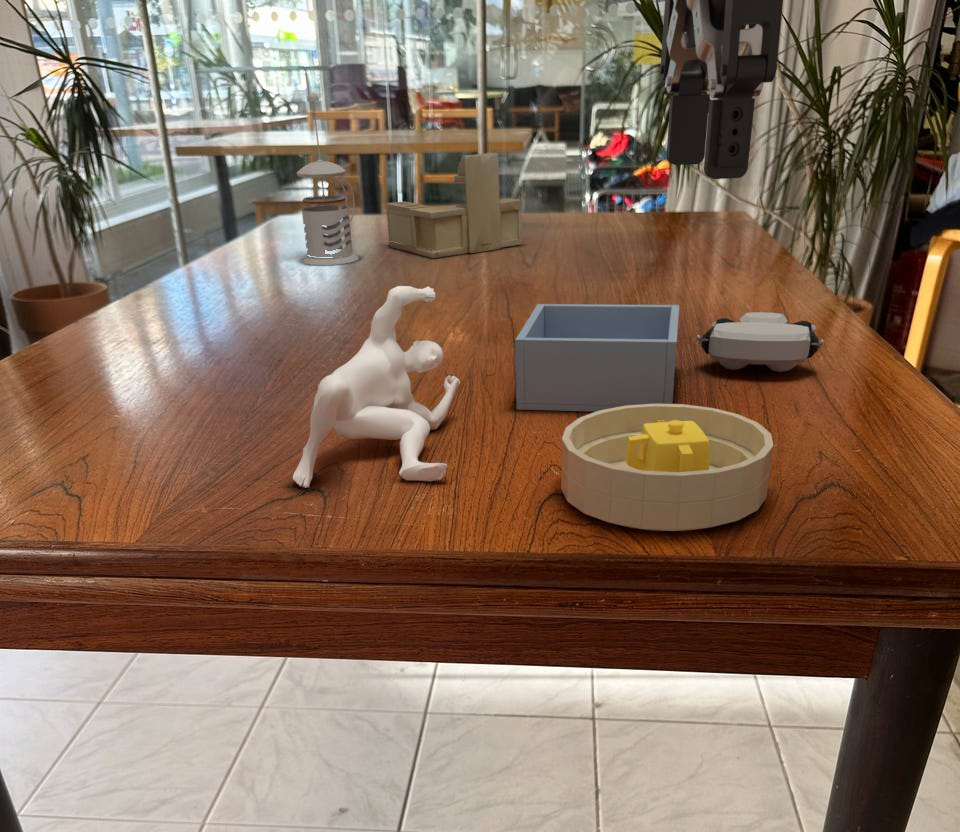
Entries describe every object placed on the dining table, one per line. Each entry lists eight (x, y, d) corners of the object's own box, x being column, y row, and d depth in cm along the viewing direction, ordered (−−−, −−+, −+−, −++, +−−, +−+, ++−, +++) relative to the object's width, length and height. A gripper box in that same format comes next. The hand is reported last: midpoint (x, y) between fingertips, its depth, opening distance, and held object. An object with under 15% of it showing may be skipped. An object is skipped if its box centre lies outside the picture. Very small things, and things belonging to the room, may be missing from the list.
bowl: (759, 460, 77) (766, 406, 74) (771, 541, 64) (780, 479, 62) (573, 453, 80) (574, 401, 77) (550, 529, 67) (550, 470, 64)
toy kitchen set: (473, 235, 180) (470, 146, 172) (524, 245, 168) (523, 150, 160) (388, 247, 171) (381, 154, 164) (435, 259, 159) (430, 159, 151)
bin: (674, 369, 99) (679, 304, 96) (671, 414, 87) (676, 341, 84) (537, 366, 102) (537, 303, 99) (516, 409, 90) (515, 339, 86)
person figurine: (413, 354, 67) (427, 261, 81) (249, 395, 70) (289, 299, 83) (462, 503, 76) (467, 396, 89) (314, 535, 78) (341, 427, 91)
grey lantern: (290, 262, 161) (268, 94, 148) (334, 251, 170) (317, 91, 156) (333, 266, 157) (314, 93, 144) (377, 255, 165) (363, 90, 152)
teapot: (614, 470, 75) (617, 406, 72) (686, 466, 75) (691, 402, 72) (636, 511, 68) (640, 442, 65) (714, 506, 68) (721, 437, 66)
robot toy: (705, 348, 109) (692, 375, 96) (709, 307, 107) (696, 329, 94) (816, 353, 106) (818, 382, 93) (823, 311, 104) (825, 334, 91)
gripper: (869, -240, 40) (812, 181, 49) (761, -170, 52) (730, 157, 61) (695, -235, 40) (668, 187, 48) (628, -166, 52) (615, 162, 60)
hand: (703, 170), depth 55 cm, fingers open, 8 cm apart
